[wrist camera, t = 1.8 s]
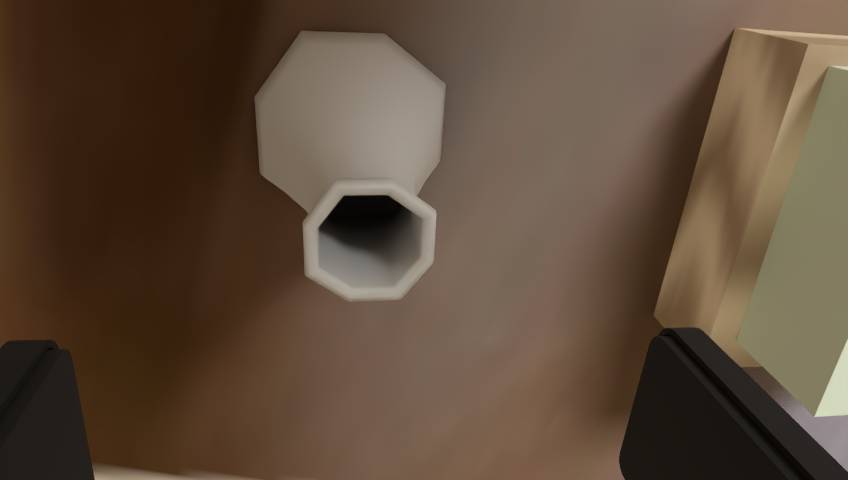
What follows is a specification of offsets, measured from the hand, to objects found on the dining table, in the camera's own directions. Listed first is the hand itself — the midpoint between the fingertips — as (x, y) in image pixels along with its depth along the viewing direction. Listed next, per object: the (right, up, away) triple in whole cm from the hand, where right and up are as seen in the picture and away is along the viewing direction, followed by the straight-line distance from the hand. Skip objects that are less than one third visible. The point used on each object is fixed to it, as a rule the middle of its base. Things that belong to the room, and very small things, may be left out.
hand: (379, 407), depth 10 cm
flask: (-2, +7, +13) cm, 15 cm away
